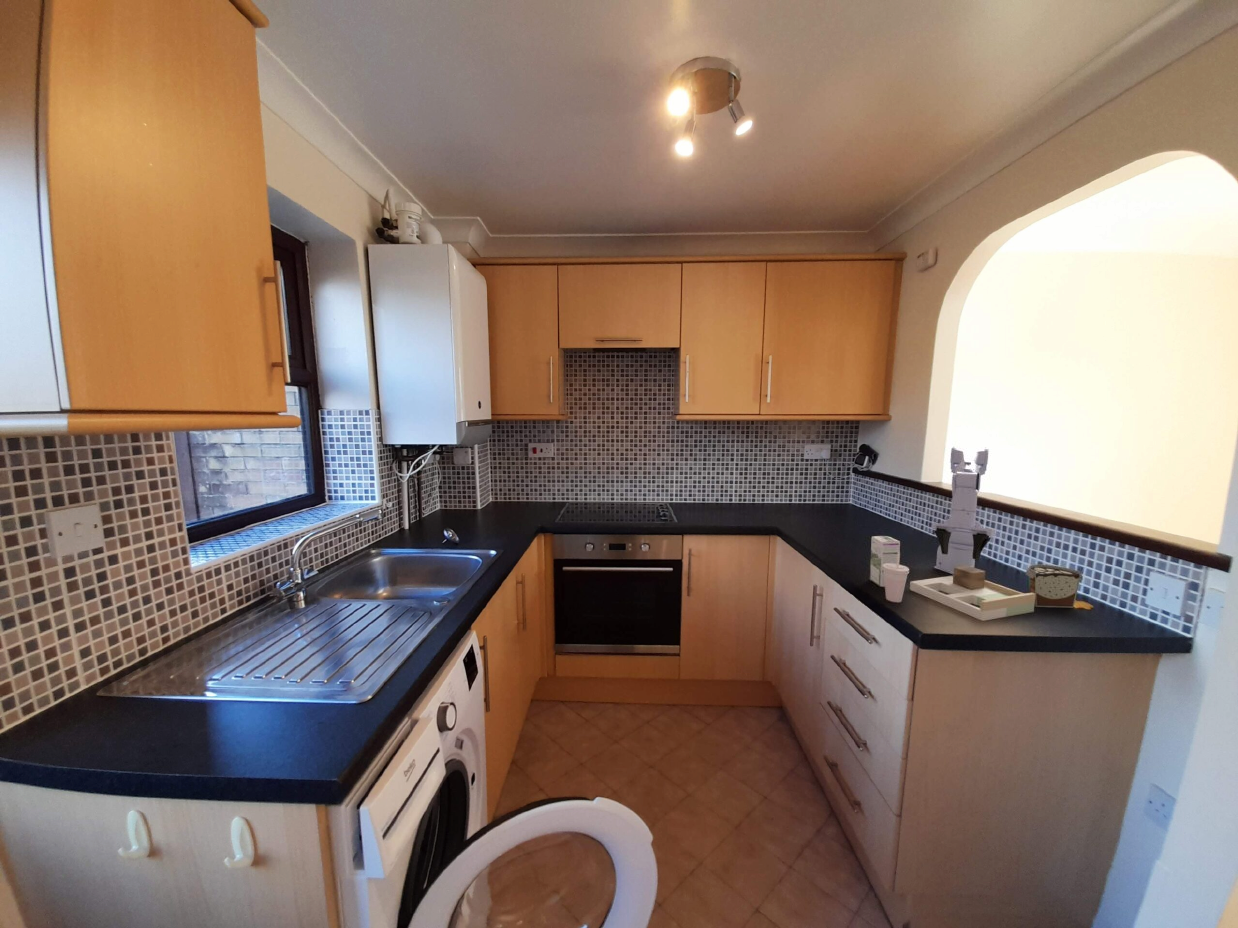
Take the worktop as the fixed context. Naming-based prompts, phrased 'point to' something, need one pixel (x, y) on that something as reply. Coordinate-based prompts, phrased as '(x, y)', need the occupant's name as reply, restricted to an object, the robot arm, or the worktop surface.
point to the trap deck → (976, 598)
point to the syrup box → (882, 556)
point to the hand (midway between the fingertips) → (959, 556)
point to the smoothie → (895, 580)
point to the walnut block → (969, 577)
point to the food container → (1053, 585)
